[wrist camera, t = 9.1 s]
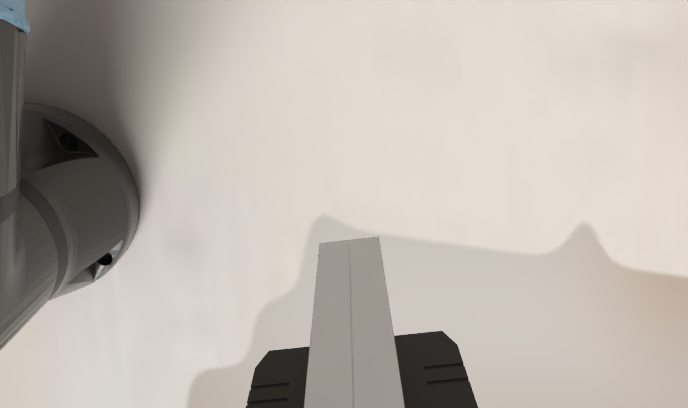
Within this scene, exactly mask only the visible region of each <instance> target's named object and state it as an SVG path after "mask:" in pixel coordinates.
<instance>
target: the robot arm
mask: <svg viewBox="0 0 688 408" xmlns="http://www.w3.org/2000/svg"><path fill="white" fill-rule="evenodd" d="M30 29H31V28H30V25H29V22H28V21H27V20H26V10H25V0H0V350H1V349H2V348H3V347H4V346H5V345H6V344H7V343H8V342H9V341H10V340H11V339H12V338H13V337H14V336H15V335H16V334H17V333H18V332H19V331H20V330H21V329H22V327H23V326H24V325H25V324H26V323H27V322H28V321H29V320H30V319H31V318H32V317H33V316H34V315H35V314H36V313H37V312H38V311H39V310H40V309H41V308H42V306H43V305H44V304H45V303H46V302H47V301H49V300H51V299H54V298H57V297H59V296H62V295H65V294H67V293H70V292H72V291H75V290H78V289H80V288H83V287H85V286H87V285H89V284H91V283H93V282H95V281H96V280H98V279H99V278H101V277H102V276H103V275H104V274H106V273H107V272H108V271H109V270H110V269H111V268H112V267H113V266H114V265H115V264H116V262H117V261H118V260H119V259H120V258H121V257H122V255H123V254H124V253H125V252H126V250H127V249H128V247H129V245H130V244H131V242H132V240H133V237H134V235H135V232H136V228H137V224H138V218H139V200H138V193H137V189H136V185H135V182H134V179H133V176H132V174H131V172H130V170H129V168H128V166H127V164H126V162H125V160H124V159H123V157H122V156H121V154H120V153H119V152H118V150H117V149H116V148H115V147H114V145H113V144H112V143H111V142H110V141H109V140H108V139H107V138H106V137H105V136H104V135H103V134H102V133H101V132H99V131H98V130H97V129H96V128H94V127H93V126H92V125H90V124H89V123H87V122H86V121H84V120H82V119H81V118H79V117H77V116H75V115H73V114H71V113H68V112H66V111H63V110H60V109H57V108H54V107H50V106H46V105H40V104H29V103H23V102H24V80H25V57H26V35H27V33H28V34H30ZM247 403H248V405H247V406H246V408H478V406H477V403H476V400H475V397H474V394H473V391H472V388H471V385H470V382H469V381H468V376H467V373H466V370H465V367H464V366H463V361H462V358H461V355H460V352H459V349H458V346H457V344H455V342H453V341H452V340H451V339H450V338H449V337H448V336H447V335H446V334H445V333H444V332H443V331H438V332H427V333H418V334H408V335H399V336H394V333H393V327H392V320H391V313H390V307H389V300H388V294H387V287H386V281H385V274H384V267H383V261H382V255H381V248H380V241H379V237H372V238H363V239H354V240H345V241H336V242H327V243H320V244H319V254H318V265H317V276H316V286H315V297H314V307H313V318H312V328H311V339H310V347H302V348H293V349H284V350H273V351H269V352H268V353H267V354H266V355H265V357H264V358H263V359H262V360H261V361H260V363H259V364H258V365H257V366H256V368H255V371H254V376H253V380H252V384H251V390H250V392H249V397H248V401H247Z"/></svg>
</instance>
